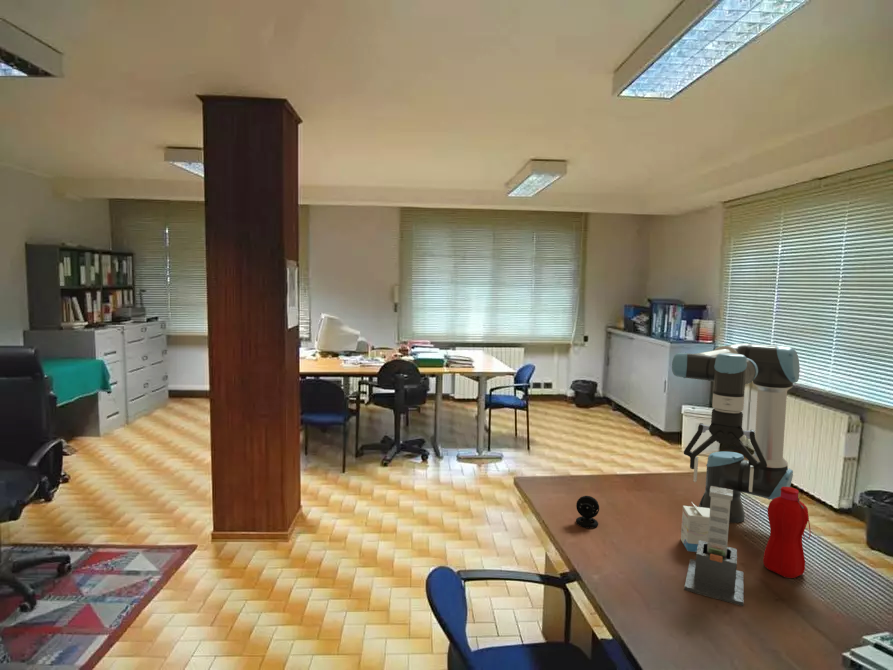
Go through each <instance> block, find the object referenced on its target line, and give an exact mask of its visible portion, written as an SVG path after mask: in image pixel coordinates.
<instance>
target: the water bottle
mask: <svg viewBox="0 0 893 670" xmlns="http://www.w3.org/2000/svg"><path fill="white" fill-rule="evenodd" d="M779 490H781V496H780V497H777V498H775V499H773V500H771V501H770V502H769V504H768V506H767V517H768V523H769V529H770V534H769V537H768V541H767V543H766V545H765V547H764V550H763V551H764V553H763V559H762V562H763V566H764V567H765V568H766V569H767V570H769V571H771V572H773V573H775V574H777V575H779V576H782V577H784V578H789V579H794V578H798V577H799V576H803V574H804V572H805V569H806V559H805V552H804V547H803V538H804V540H806V541H807V540H809V539H811V534H812V533H811V532H812V531H811V523H810V520H809V519H810V516H809V511H808V510H809V509H808V507H807V506H806V504H804V503H803V502H802V501H801V500H800V497H799V493H800V492H799V489H797V488H794V487H791V486H790V487H781V489H779ZM807 526H808V529H809V535H808V536H809V537H808V538H806V536H805V530H806V527H807Z"/></svg>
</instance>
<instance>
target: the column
mask: <svg viewBox="0 0 893 670" xmlns="http://www.w3.org/2000/svg"><path fill="white" fill-rule="evenodd" d="M709 496H711V502H710V516H709V530H708V544H707V554H708V555H710V554H714V555H718V556H722V557H723V558H725V559H726V556H727V547H728V544H729V543H728V540H729V526H730V523H729V516H730V503H731V500H732V499H733V490H731V489H725V488H720V487H714V486H710V493H709Z"/></svg>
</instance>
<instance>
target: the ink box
mask: <svg viewBox="0 0 893 670" xmlns="http://www.w3.org/2000/svg"><path fill="white" fill-rule="evenodd" d="M691 504H692V505H693V506H690V505H682V515H681V516H682V517H681V528H680V529H681V531H680V532H681V533H680V540H681V542H682V544H683V546H684V548H685V549H686V551H687V552H694V553H696V552H697V547H698V542H699V540H701V541H705V542H708V530H709V516H710V508H703V507H699V506H697V505H696V504H695V503H693V502H691Z"/></svg>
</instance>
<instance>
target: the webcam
mask: <svg viewBox="0 0 893 670" xmlns="http://www.w3.org/2000/svg"><path fill="white" fill-rule="evenodd" d="M575 507H576V511H577V512H578V514H579V515H580V516H579V517H576V519H575V523H576V525H578V526H579V527H581V528H584V529H595V528H597V527H598V526H599V522H598V520H597V519H595V517H596V516H598V514H599V512H600V505H599V502H598V501H597V499H596V498H594V497H592V496H591V495H584V496H583V495H582V496H581V497H579V498H578V499H577V501H576V505H575Z"/></svg>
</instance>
